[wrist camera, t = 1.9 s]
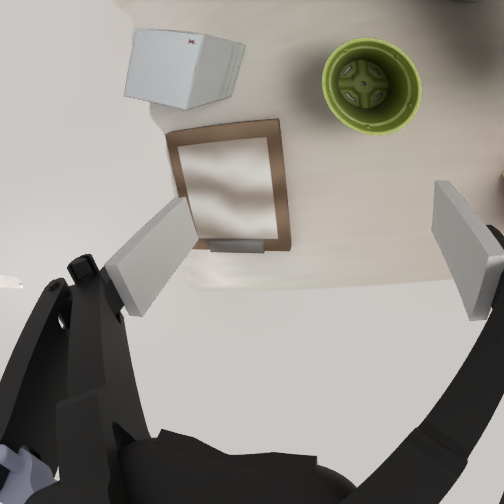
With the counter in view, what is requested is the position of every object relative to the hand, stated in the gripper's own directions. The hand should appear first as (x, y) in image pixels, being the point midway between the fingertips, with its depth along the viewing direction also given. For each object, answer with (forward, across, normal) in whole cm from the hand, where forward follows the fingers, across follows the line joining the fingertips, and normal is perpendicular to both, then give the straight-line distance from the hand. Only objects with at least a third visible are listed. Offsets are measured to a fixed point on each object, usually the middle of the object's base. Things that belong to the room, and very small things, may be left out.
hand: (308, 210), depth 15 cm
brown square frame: (+23, -13, -6) cm, 28 cm away
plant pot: (+24, +6, +5) cm, 25 cm away
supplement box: (+24, -12, +10) cm, 28 cm away
